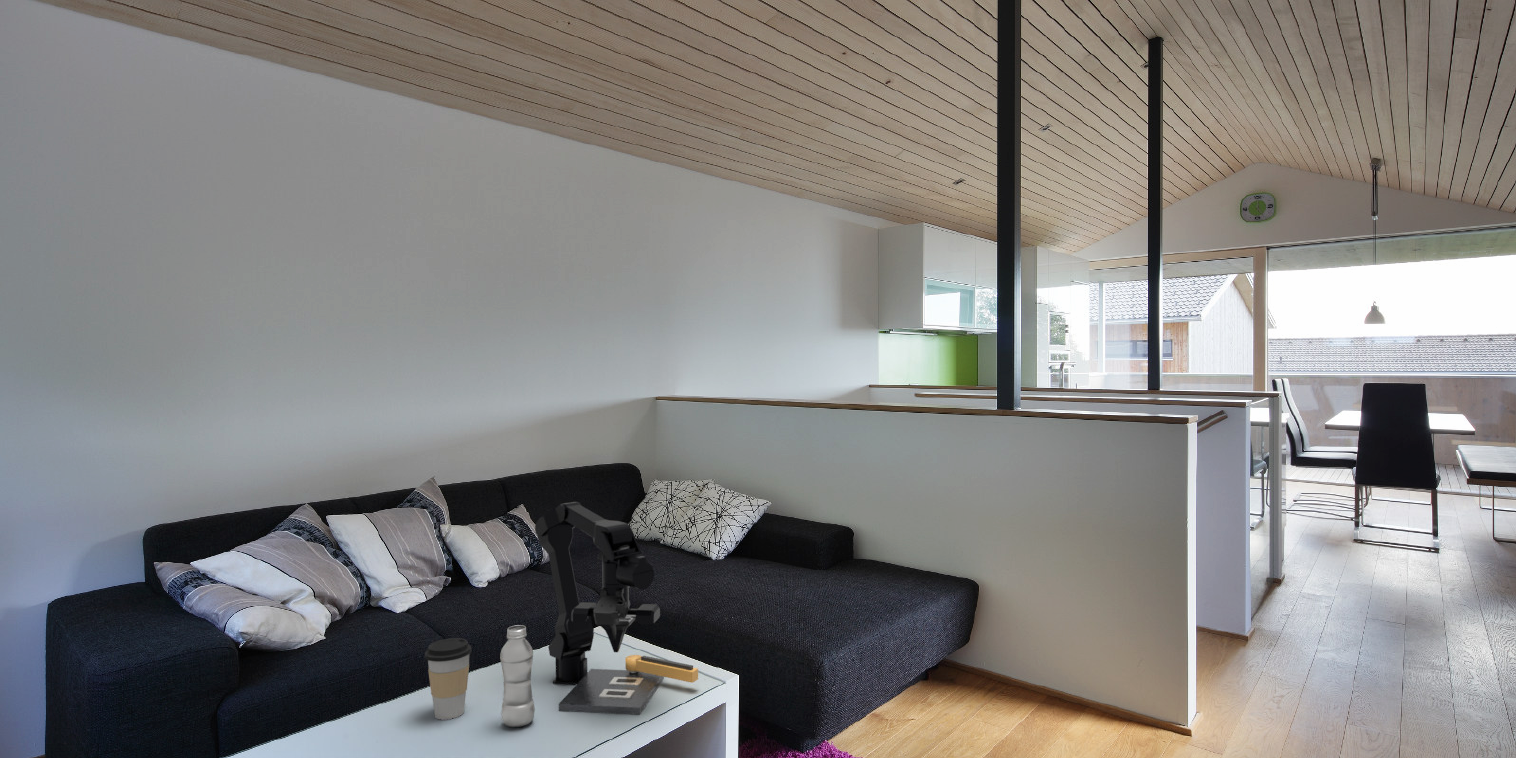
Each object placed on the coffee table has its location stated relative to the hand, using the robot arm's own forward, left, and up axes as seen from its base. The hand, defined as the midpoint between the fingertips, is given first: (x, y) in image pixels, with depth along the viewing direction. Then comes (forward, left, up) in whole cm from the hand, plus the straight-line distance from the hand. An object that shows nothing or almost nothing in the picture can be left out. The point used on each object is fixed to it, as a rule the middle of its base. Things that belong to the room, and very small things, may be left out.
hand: (616, 651), depth 170 cm
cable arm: (+7, +10, -8) cm, 15 cm away
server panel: (-2, +4, -11) cm, 12 cm away
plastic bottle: (-17, -13, -11) cm, 24 cm away
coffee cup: (-34, -10, -11) cm, 37 cm away
